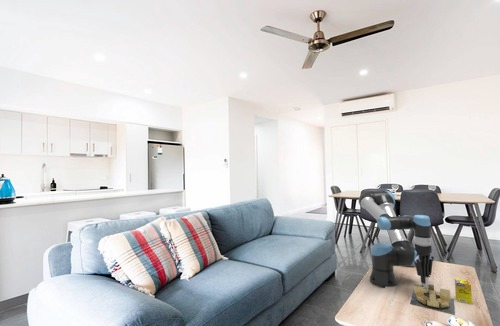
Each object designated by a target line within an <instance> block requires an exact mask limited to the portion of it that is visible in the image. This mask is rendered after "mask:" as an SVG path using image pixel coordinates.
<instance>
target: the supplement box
mask: <svg viewBox="0 0 500 326" xmlns="http://www.w3.org/2000/svg"><path fill="white" fill-rule="evenodd" d="M454 287H455V288H454V289H455V299H456V301H457V302H458V303H464V304H468V305H473V297H472V284H471V281H470V280H467V279H461V278H454Z"/></svg>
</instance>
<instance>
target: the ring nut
mask: <svg viewBox="0 0 500 326" xmlns="http://www.w3.org/2000/svg"><path fill="white" fill-rule="evenodd" d="M413 290H414V293H416V299H417V300H418V301H420V302H421V303H423V304H425V305H426V304H427V305H428V306H432V307H437V308H439V307H441V308H444V307H449V306H450V301H449V300H451V298H452V297H451V290H450V289H446V288H441V287H440V288H439V291H437V290H435V284H434V281H429V280H428V290H425V289H423V285H422V284H417V283H413ZM428 294H429V298H428V297H427V295H428ZM436 297H437V299H436Z"/></svg>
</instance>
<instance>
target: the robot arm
mask: <svg viewBox="0 0 500 326" xmlns="http://www.w3.org/2000/svg"><path fill="white" fill-rule="evenodd" d="M395 199H396V198H395V196H394V193H392V192H391V191H389V190H379V191H378V190H375V191H374V190H371V191H369V190H367V191H364V192H363V193H362V194H360V195H359V198H358V204H359V206H360V208H362V209H363V210H366V211H367V212H368V213H369V214H370V215H371V216H372V217H373V218H374V219H375V220H376V224H377V227H378V229H379V230H381V231H387V233H388V236H389V239H390V241H391V243H389V242H388V243H387V242H380V243H379V242H378V243H375V244H373V245H372V247H371V252H370V253H371V268H372V269H371V272H370V276H369V281H370V284H371V285H374V286H376V287H378V288H383V289H385V288H386V287H387V288H388V287H389V288H390V287H396V286H397V285H398V279H397V277H396V274H395V272H394V267H414V266H415V270H416V274H417V276H419V277H420V282H421V285H423V289H425V290H428V281H429V278H431V276H432V271H433V270H432V269H433V263H434V262H433V261H434V259H435V258H434V256H432V255H431V254H432V253H433V252H432V251H433V250H432V248H433V247H432V232H431V227H432V226H431V225H432V223H431V218H430V216H428V215H424V214H415V215H410V214H409V215H408V214H405V215H403V216H397V215H396V213H395V210H394V208H395V205H396V200H395ZM403 230H404V231H406V230H411V231H413V234H414V236H413V239H414V240H413V241H414V245H412V243H411V241H410V240H409V239H407V237H406V236H405V233H404V231H403Z"/></svg>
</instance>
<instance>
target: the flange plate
mask: <svg viewBox="0 0 500 326" xmlns="http://www.w3.org/2000/svg"><path fill="white" fill-rule="evenodd" d="M427 297H428V298H429V294H428V295H427ZM436 299H437V297H436ZM449 301H450V306H449V307H444V308H441V307H439V308H437V307H432V306H428V305H427V304H426V305H425V304H423V303H421V302H420V301H418V300H417V299H416V293H414V289H413V291H412V293H411V299H410V303H409V304H410V305H412V306H416V307H420V308H424V309H428V310H432V311H436V312H440V313H444V314H448V315H453V316H456V309H455V308H456V307H455V299H454V298H452V297H451V300H449Z"/></svg>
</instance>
